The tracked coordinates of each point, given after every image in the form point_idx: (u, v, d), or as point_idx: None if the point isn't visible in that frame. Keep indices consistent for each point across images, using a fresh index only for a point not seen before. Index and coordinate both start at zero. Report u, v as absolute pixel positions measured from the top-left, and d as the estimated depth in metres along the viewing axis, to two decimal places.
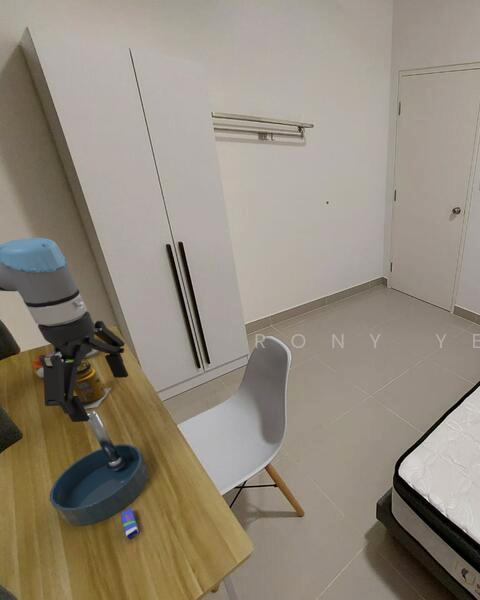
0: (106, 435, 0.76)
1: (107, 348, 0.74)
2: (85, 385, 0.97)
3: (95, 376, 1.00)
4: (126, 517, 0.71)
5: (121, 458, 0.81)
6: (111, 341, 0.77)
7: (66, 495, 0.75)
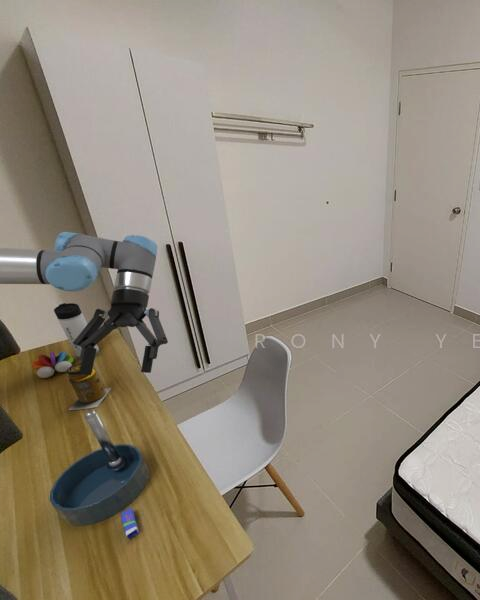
0: (106, 435, 0.76)
1: None
2: (85, 385, 0.97)
3: (95, 376, 1.00)
4: (126, 517, 0.71)
5: (121, 458, 0.81)
6: (90, 335, 0.83)
7: (66, 495, 0.75)
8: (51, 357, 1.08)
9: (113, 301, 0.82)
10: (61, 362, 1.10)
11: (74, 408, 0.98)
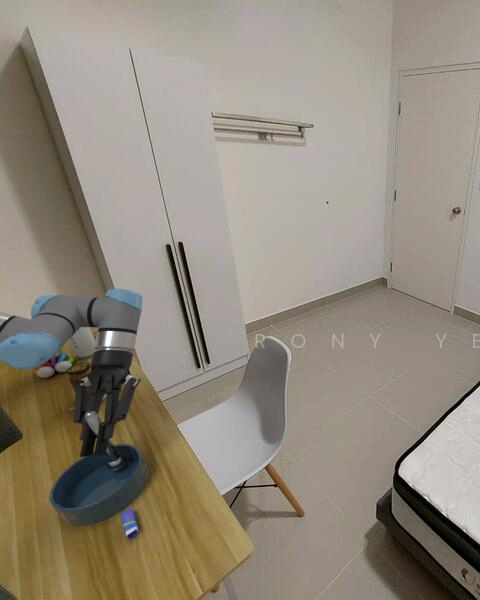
0: None
1: None
2: None
3: None
4: (126, 517, 0.71)
5: (121, 458, 0.81)
6: (85, 408, 0.76)
7: (66, 495, 0.75)
8: (51, 357, 1.08)
9: (93, 364, 0.76)
10: (61, 362, 1.10)
11: None
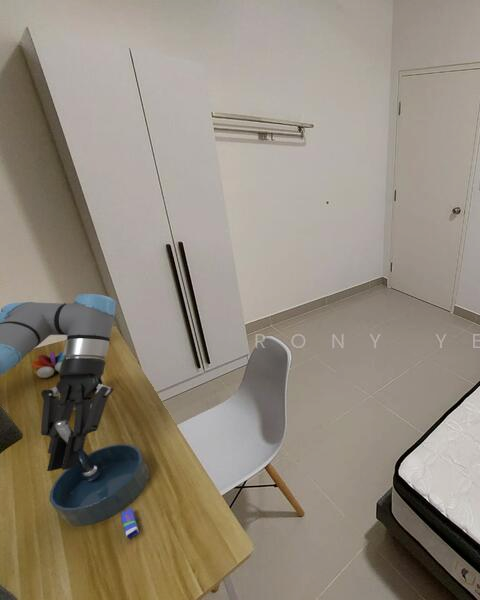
0: None
1: None
2: None
3: None
4: (126, 517, 0.71)
5: None
6: (54, 419, 0.73)
7: (66, 495, 0.75)
8: (51, 357, 1.08)
9: (61, 373, 0.73)
10: None
11: (74, 408, 0.98)
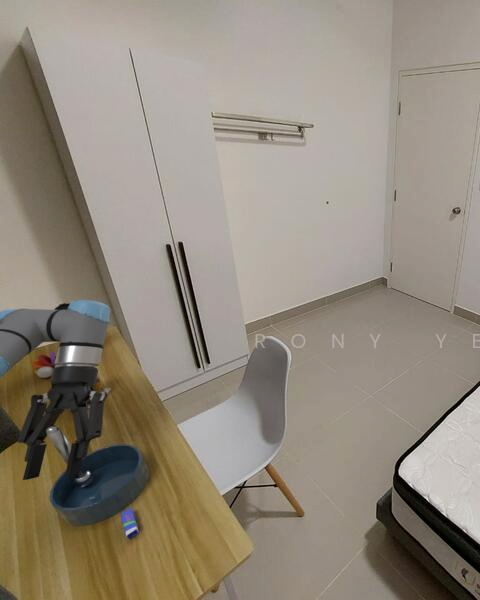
0: None
1: None
2: None
3: None
4: (126, 517, 0.71)
5: (86, 470, 0.77)
6: (35, 426, 0.71)
7: (66, 495, 0.75)
8: (51, 357, 1.08)
9: (52, 382, 0.71)
10: None
11: None
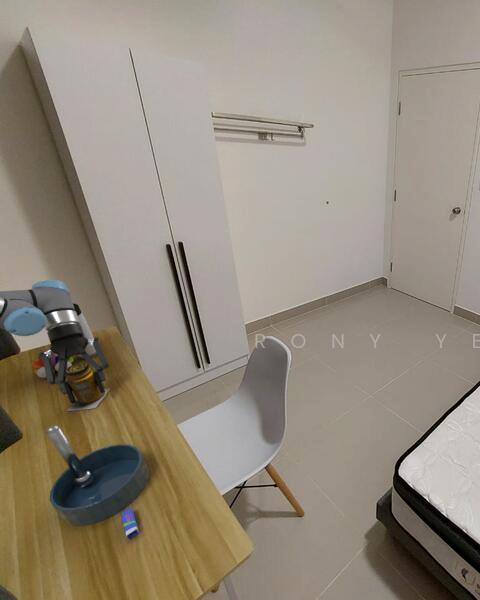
0: None
1: None
2: (84, 386, 0.97)
3: (93, 377, 0.99)
4: (126, 517, 0.71)
5: (86, 470, 0.77)
6: (53, 373, 0.96)
7: (66, 495, 0.75)
8: (51, 357, 1.08)
9: (56, 337, 0.96)
10: None
11: (72, 409, 0.98)
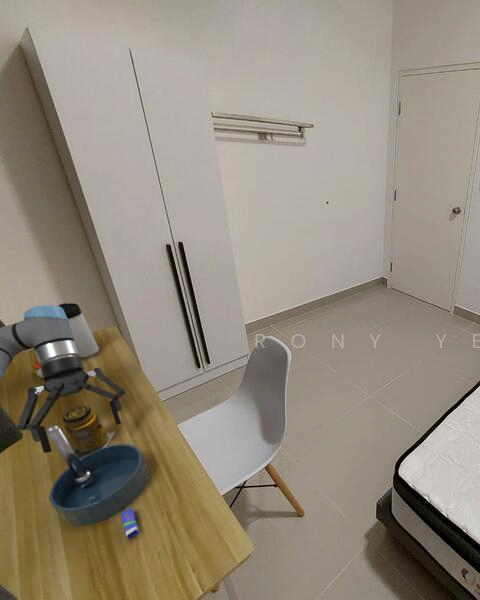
0: None
1: None
2: (85, 434, 0.83)
3: (96, 422, 0.85)
4: (126, 517, 0.71)
5: (86, 470, 0.77)
6: (30, 416, 0.80)
7: (66, 495, 0.75)
8: None
9: (51, 374, 0.82)
10: None
11: None
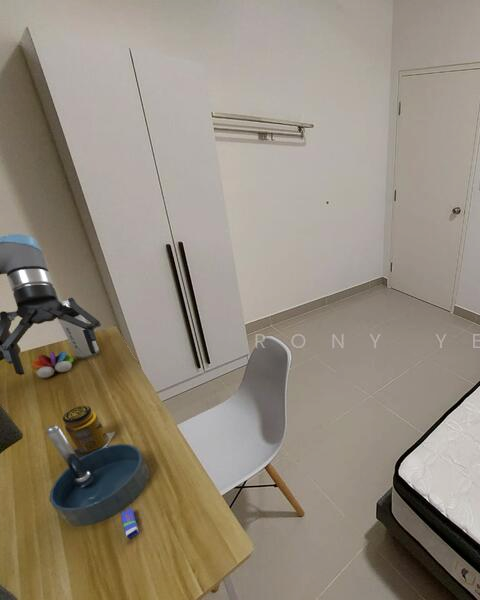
0: None
1: None
2: (85, 434, 0.83)
3: (96, 422, 0.85)
4: (126, 517, 0.71)
5: (86, 470, 0.77)
6: (2, 339, 0.81)
7: (66, 495, 0.75)
8: (51, 357, 1.08)
9: (23, 299, 0.83)
10: (61, 362, 1.10)
11: None
